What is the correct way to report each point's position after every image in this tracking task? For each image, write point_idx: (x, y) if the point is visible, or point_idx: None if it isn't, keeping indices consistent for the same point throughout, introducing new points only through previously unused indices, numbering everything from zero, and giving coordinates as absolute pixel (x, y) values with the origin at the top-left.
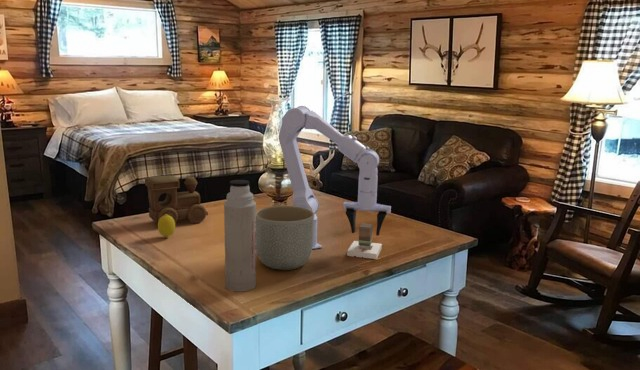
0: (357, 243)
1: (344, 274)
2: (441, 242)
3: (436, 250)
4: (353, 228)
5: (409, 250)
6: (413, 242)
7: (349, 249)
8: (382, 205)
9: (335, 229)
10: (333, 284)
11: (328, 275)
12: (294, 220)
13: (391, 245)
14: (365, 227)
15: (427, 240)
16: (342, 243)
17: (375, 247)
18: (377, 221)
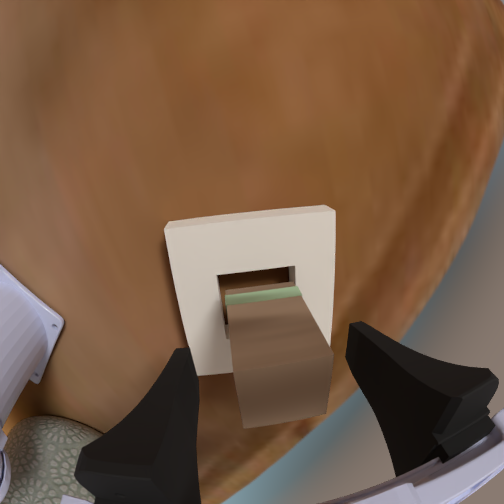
0: (200, 267)
1: (250, 455)
2: (491, 60)
3: (495, 150)
4: (197, 410)
5: (434, 180)
6: (431, 67)
7: (198, 361)
8: (486, 479)
9: (21, 37)
10: (245, 482)
11: (215, 467)
12: (16, 488)
13: (360, 133)
14: (289, 419)
15: (459, 39)
16: (102, 216)
17: (312, 284)
18: (387, 439)
